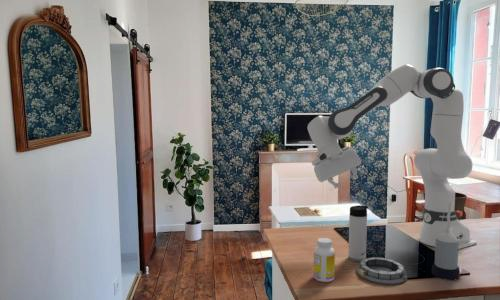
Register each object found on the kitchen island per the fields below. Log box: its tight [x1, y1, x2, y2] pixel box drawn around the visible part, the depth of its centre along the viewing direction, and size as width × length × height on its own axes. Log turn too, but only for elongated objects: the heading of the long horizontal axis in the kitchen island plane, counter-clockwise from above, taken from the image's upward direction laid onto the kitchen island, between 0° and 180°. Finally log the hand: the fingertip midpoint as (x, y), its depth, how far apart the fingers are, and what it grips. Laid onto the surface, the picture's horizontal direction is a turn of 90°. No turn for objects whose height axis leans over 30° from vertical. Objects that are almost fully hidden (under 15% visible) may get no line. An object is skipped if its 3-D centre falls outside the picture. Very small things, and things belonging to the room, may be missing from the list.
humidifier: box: [431, 201, 462, 281], centre depth 123 cm, size 8×8×25 cm
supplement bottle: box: [313, 237, 336, 283], centre depth 121 cm, size 7×7×13 cm
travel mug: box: [348, 205, 369, 263], centre depth 137 cm, size 6×7×20 cm
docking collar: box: [356, 256, 408, 286], centre depth 125 cm, size 16×16×3 cm
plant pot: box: [454, 191, 468, 222], centre depth 175 cm, size 15×15×16 cm
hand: (346, 183), depth 151 cm, fingers open, 8 cm apart
